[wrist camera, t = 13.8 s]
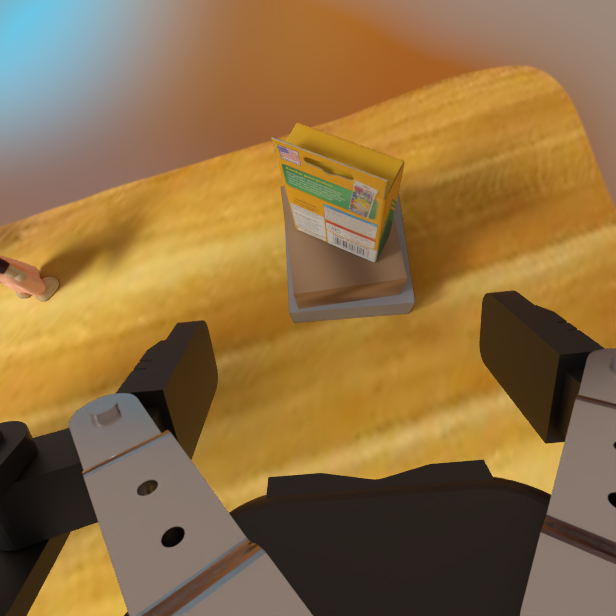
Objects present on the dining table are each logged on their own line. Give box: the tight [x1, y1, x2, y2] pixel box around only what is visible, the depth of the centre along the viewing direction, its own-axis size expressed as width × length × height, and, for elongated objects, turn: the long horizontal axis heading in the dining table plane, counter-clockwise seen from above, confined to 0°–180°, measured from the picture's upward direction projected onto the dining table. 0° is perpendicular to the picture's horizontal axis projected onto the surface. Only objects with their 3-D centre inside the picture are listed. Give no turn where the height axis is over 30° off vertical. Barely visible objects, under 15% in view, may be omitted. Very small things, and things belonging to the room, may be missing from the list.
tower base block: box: [285, 193, 415, 323], centre depth 39 cm, size 11×11×4 cm
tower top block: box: [281, 186, 407, 309], centre depth 36 cm, size 9×10×4 cm
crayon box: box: [271, 123, 404, 262], centre depth 28 cm, size 7×3×12 cm, turn 63°
